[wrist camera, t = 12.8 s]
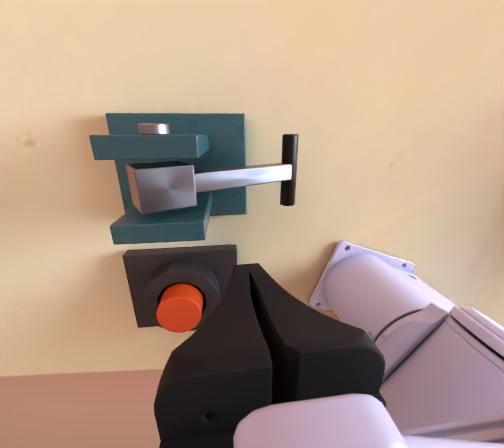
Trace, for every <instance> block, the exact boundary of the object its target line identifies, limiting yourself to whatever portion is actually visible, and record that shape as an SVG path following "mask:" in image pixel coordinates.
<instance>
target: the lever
mask: <svg viewBox="0 0 504 448" xmlns="http://www.w3.org/2000/svg"><path fill="white" fill-rule="evenodd" d="M297 151H298V134H284V135H283V139H282V163H278V164H266V165H255V166H243V167H232V168H221V169H209V170H198V171H194V165H193V164H189V163H185V162H180V161H166V162H150V163H134V164H126V169H127V174H128V180H129V185H130V191H131V196H132V202H133V205H134V206H135V207H136V208H137V209H138V211H139V212H140V213H141V214H142V215H147V214H153V213H159V212H165V211H171V210H177V209H183V208H188V207H194V206H197V198H196V193H200V192H207V191H214V190H221V189H228V188H235V187H243V186H250V185H257V184H264V183H271V182H278V181H281V195H280V204H281V205H283V206H292V205H294V204H295V187H296V169H297Z"/></svg>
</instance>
